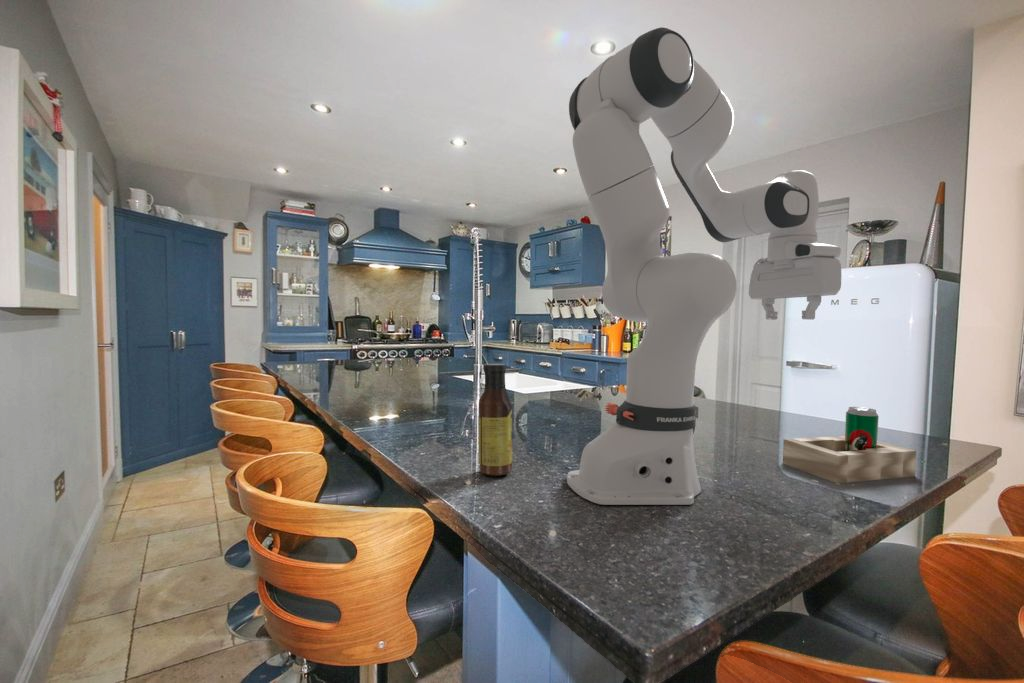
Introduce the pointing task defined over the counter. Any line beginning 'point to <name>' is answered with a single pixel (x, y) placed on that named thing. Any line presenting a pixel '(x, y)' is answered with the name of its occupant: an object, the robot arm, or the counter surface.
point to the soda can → (861, 429)
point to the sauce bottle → (495, 423)
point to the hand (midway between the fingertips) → (788, 319)
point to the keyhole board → (848, 459)
